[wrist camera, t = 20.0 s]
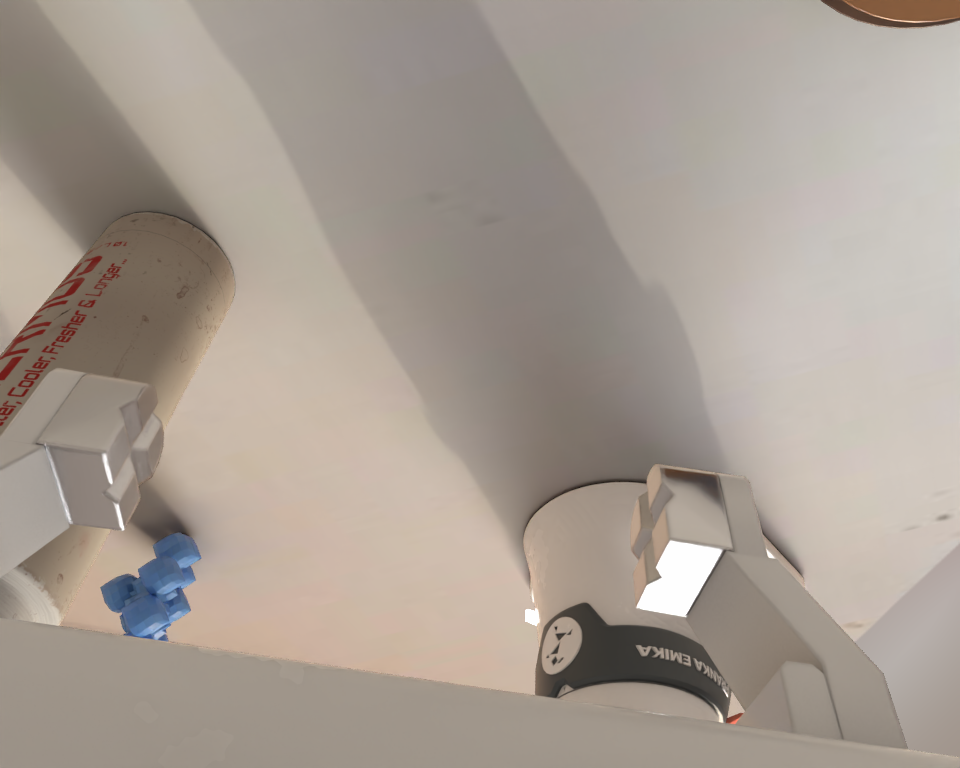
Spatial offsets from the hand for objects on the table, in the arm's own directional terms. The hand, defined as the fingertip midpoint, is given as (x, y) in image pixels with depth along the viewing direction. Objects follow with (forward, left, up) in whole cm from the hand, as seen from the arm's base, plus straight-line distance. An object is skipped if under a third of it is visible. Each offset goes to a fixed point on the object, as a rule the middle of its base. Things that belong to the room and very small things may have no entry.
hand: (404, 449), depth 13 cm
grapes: (-6, +49, -29) cm, 57 cm away
